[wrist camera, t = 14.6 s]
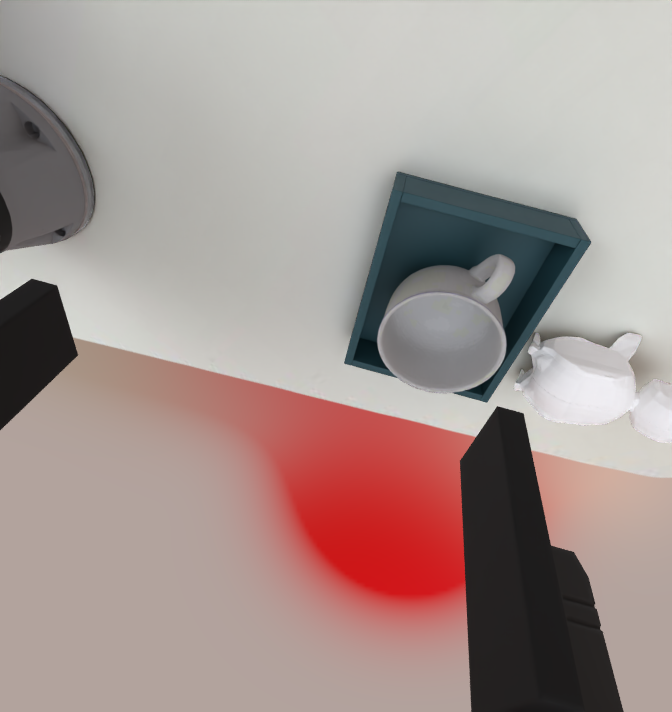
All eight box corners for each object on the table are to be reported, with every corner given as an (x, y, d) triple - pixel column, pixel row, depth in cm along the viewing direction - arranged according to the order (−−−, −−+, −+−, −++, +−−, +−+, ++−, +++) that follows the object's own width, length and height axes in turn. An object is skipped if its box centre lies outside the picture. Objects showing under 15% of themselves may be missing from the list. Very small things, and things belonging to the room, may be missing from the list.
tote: (350, 337, 48) (344, 363, 44) (397, 171, 35) (392, 189, 32) (483, 373, 47) (487, 402, 44) (576, 218, 35) (591, 242, 32)
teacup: (436, 358, 46) (436, 411, 40) (363, 299, 43) (351, 346, 37) (551, 279, 38) (572, 331, 32) (471, 199, 35) (478, 239, 29)
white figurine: (522, 367, 49) (671, 419, 43) (502, 412, 44) (670, 479, 38) (546, 306, 44) (720, 356, 38) (527, 349, 38) (727, 415, 32)
